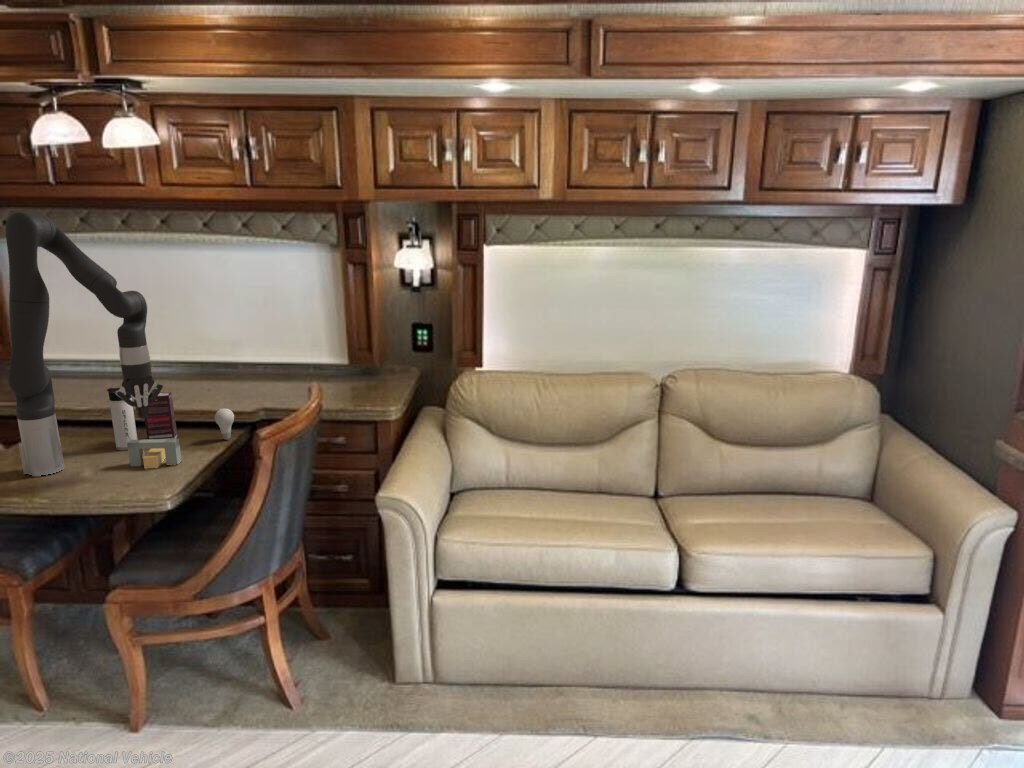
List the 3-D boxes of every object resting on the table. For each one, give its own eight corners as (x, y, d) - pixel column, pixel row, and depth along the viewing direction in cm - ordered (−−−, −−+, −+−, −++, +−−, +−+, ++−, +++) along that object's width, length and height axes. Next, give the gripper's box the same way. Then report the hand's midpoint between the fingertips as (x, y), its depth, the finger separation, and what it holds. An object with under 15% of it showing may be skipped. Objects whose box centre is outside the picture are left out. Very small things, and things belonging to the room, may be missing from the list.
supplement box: (177, 435, 234) (172, 391, 230) (174, 440, 230) (169, 395, 226) (150, 437, 232) (144, 393, 228) (146, 442, 227) (140, 396, 223)
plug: (143, 469, 204) (141, 455, 203) (157, 453, 217) (155, 439, 216) (159, 468, 205) (157, 454, 204) (172, 452, 218) (170, 438, 217)
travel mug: (122, 444, 225) (113, 386, 220) (142, 444, 226) (133, 386, 221) (111, 450, 219) (102, 391, 214) (132, 450, 219) (123, 391, 214)
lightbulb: (233, 442, 228) (230, 411, 225) (214, 442, 227) (211, 411, 224) (238, 436, 234) (235, 406, 231) (220, 437, 233) (217, 406, 230)
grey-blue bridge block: (130, 466, 206) (126, 443, 204) (134, 462, 209) (131, 439, 207) (177, 465, 207) (174, 442, 205) (181, 461, 210) (178, 438, 208)
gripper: (154, 355, 203) (161, 411, 207) (105, 362, 193) (114, 420, 198) (164, 359, 198) (171, 416, 202) (114, 366, 189) (123, 426, 193)
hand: (143, 418), depth 200 cm, fingers closed
